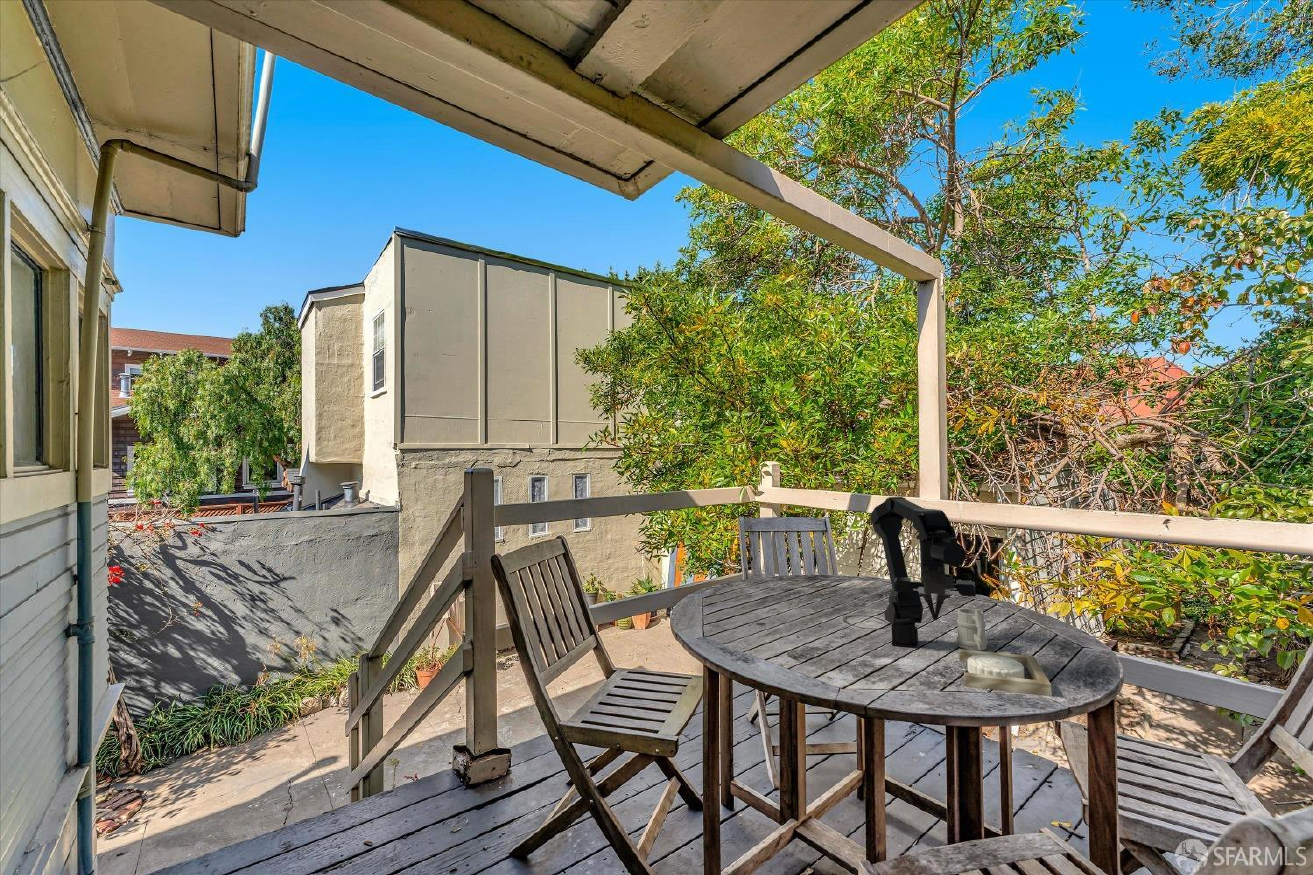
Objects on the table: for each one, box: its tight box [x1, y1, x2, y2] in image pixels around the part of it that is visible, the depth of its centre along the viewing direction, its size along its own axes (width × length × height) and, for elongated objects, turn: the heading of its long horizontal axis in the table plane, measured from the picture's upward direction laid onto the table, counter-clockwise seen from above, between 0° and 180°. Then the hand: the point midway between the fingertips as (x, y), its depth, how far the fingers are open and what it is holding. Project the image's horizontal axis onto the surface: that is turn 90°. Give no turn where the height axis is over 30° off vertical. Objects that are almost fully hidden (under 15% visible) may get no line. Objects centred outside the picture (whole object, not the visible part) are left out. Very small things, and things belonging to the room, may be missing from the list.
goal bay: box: [958, 648, 1052, 697], centre depth 140 cm, size 17×19×2 cm
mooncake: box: [966, 654, 1025, 679], centre depth 141 cm, size 12×12×4 cm
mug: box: [956, 607, 989, 651], centre depth 159 cm, size 8×12×12 cm, turn 171°
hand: (935, 619), depth 149 cm, fingers closed
